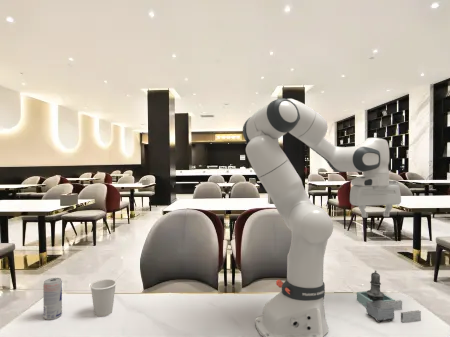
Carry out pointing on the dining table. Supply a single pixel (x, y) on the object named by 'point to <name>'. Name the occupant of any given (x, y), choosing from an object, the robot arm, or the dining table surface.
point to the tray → (363, 299)
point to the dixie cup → (103, 296)
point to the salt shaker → (375, 288)
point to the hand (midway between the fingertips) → (375, 216)
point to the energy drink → (52, 298)
